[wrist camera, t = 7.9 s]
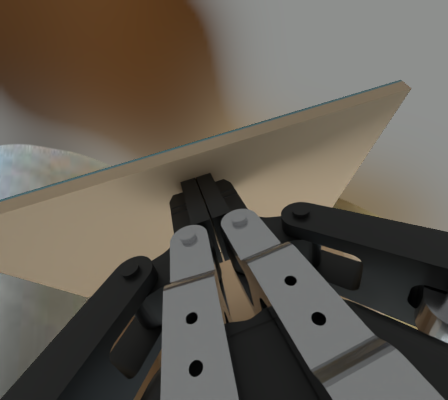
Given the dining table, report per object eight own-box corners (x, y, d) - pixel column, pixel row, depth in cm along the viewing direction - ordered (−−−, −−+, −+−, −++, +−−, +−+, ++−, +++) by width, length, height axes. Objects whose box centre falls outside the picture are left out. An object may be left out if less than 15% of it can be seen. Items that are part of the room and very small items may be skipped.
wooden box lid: (411, 88, 11) (400, 79, 11) (-99, 244, 9) (-93, 227, 9) (329, 211, 21) (325, 204, 22) (87, 297, 19) (86, 288, 19)
